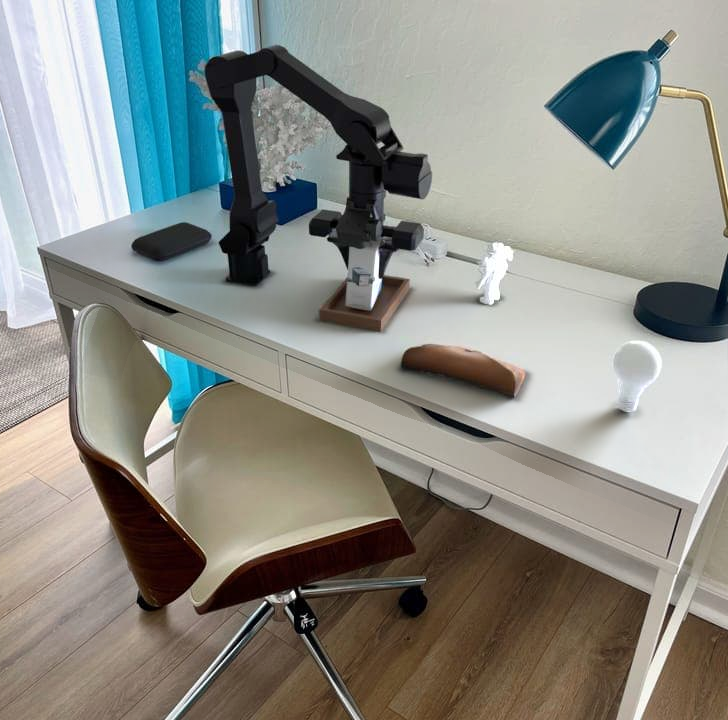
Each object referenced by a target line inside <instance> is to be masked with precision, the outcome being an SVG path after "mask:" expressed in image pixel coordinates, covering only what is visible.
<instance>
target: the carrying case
mask: <svg viewBox="0 0 728 720" xmlns="http://www.w3.org/2000/svg"><path fill="white" fill-rule="evenodd" d="M212 237H213V234H212V233H211V232H210V231H208V230H207V229H205V228H204V227H203V228H202V227H200V226H197V225H194V224H192V223H189V222H186V221H182V222H178V223H175V224H172V225H169V226H167V227H164V228H161V229H158V230H156V231H153V232H150V233H147V234H144V235H141V236H139V237H137V238H135V239H134V240H133V242H132V243H131V249H132V250H133V251H134V252H136V254H137V255H141V256H144V257H145V258H148V259H150V260H153V261H154V262H164V261H167V260H170V259H173V258H175V257H178V256H180V255H183V254H185V253H188V252H190V251H194V250H195V249H198V248H200V247H202V246H205V245H208V244H209V242H210V241H211V240H212Z"/></svg>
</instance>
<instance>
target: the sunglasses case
mask: <svg viewBox="0 0 728 720" xmlns="http://www.w3.org/2000/svg"><path fill="white" fill-rule="evenodd" d="M400 368H401V369H405V370H411V371H415V372H421V373H426V374H430V375H434V376H435V375H436V376H443V377H444V378H448V379H452V380H455V381H460V382H463V383H469V384H471V385H474V386H478V387H482V388H485V389H489V390H492V391H496V392H500V393H504V394H507V395H512V397H514V398H516V397H517V395H518V394H519V392H520V390H521V388H522V385H523V383H524V381H525V380H526V377H527V372H526V371H525V370H523V369H521V368H520V367H519V366H516V365H514V364H511V363H509V362H506V361H503V360H502V359H498V358H495V357H491V356H490V355H488V354H486V353H483V352H482V351H479V350H475V349H472V348H468V347H463V346H457V345H455V346H454V345H446V344H445V345H444V344H436V343H425V344H422V345H420V346H412V347H409V348H407V349H406V350H405V351H404V353H403V354H402V358H401V360H400Z"/></svg>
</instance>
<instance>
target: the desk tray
mask: <svg viewBox="0 0 728 720" xmlns="http://www.w3.org/2000/svg"><path fill="white" fill-rule="evenodd" d="M347 278H348V276H347V277H346V278H345V279H344V280H343V282H341V284H340V285H339V286H338V287H337V288H336V289H335V290H334V292H333V293H331V295H330V296H329V298H328V299H327V300H326V301H325V302H324V303H323V305H322V306H321V307H320V308H319V309H318V313H319V321H321V322H327V323H333V324H338V325H342V326H343V325H344V326H348V327H353V328H359V329H366V330H371V331H375V332H382V331H383V329H384V328H385V326H386V325H387V324H388V322H389V320H390V319H391V317H392V316H393V315H394V313H395V312H396V311H397V308H398V307H399V306H400V304H401V302H402V301H403V299H404V298H405V297H406V295H407V293H409V291H410V282H411V279H410V278H406V277H405V278H404V277H399V276H394V275H393V276H392V275H386V274H384V275H383V277H382V285H381V290H380V293H379V295H378V297H377V299H376V301H375V304H374V306H373V308H372V310H371V311H368V310H362V309H357V308H352V307H347V306H345V305H346V291H347Z"/></svg>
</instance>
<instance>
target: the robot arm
mask: <svg viewBox="0 0 728 720" xmlns="http://www.w3.org/2000/svg"><path fill="white" fill-rule="evenodd" d="M203 71H204V79H205V82H206V85H207V86H206V87H207V89H208V92H209V96H210V98H211V100H212V101H213V102H214V103H215V105H216V106H217V108H218V110H219V111H220V113H221V116H222V122H223V124H222V125H223V130H224V136H225V143H226V149H227V155H228V156H227V157H228V163H229V168H230V175H231V180H232V181H231V183H232V187H233V196H234V197H233V200H232V203H231V206H230V211H229V231H228V232H227V233H226V234H225V235H224V236H223V237H222V238H221V239H220V240H219V241H218V245H219V248H220V250H221V252H222V253H223V254H225V255H227V263H228V273H229V274H228V275H227V276H225V282H229V283H235V284H241V285H246V286H251V287H257V286H258V285H259V284H260V283H262V282H263V281H264V280H265V279H266V278H267V277H268V276H269V275H270V274H271V273H272V272H271V269H270V268H269V258H268V257H269V256H268V254H267V253H266V246H265V245H263V244H265V243H267V242H269V240H270V236H271V235H272V234H273V233H274V232H275V230H276V228H277V223H278V222H279V221H280V219H279V217H278V215H277V203H276V200H274V199H273V200H269V199H268V198H267V196H266V195H265V193H264V191H263V187H262V180H261V173H260V172H261V171H260V165H259V159H258V150H257V143H256V136H255V128H254V121H253V114H252V113H253V112H252V108H253V104H254V101H255V97H256V93H257V90H258V89H257V87H258V86H257V84H258V83H257V82H258V78H260V77H264V76H267V77H269V78H270V79H272V80H273V81H275V82H276V83H278V84H279V85H280V86H282V87H283V88H285V89H286V90H287V91H289V92H290V93H291V94H293V95H294V96H295V97H297V98H298V99H300V101H302V102H304V103H305V104H307V106H309V107H310V108H312V109H314V111H316V112H318V113H319V114H320V115H322V116H323V117H324V118H325V119H326V120H327V121H329V123H330V125H331V127H332V128H333V131H334V132H335V134H336V135H337V136H338V137H339V138H340V139H341V140H342V141H343V142H344V143H345V144H346V145H344V147H343V149H342V150H341V151H340V152H339V153H338V154H336V155H335V158H336V160H340V161H346V162H348V196H347V198H346V201H345V208H344V211H343V214H342V212H341V211H338V210H330V209H323V208H322V209H321V210H320V211H319V212H317V214H316V215H314V216H313V217H312V218H311V219H310V220H309V222H308V234H309V235H310V236H312V237H319V238H326V237H327V238H326V241H327V242H328V243H332V244H333V245H334V246H335V247H337V249H338V251H339V253H340V255H341V257H342V261H343V263H344V265H345V267H346V270H347V271H348V263H349V247H355V248H356V249H363V248H365V247H366V246H367V244H368V242H371V241H378V240H379V238H380V237H384V243H383V244H382V245H381V246H380V248H379V250H380V253H381V254H380V263H379V279H382V277H383V275H385V273H386V270H387V269H388V265H389V263H390V262H391V261H390V260H391V258H392V256H393V254H394V253H397V252H398V251H399V250H404V251H416V249H417V248H418V247H419V245H420V244H421V243H422V242H423V240H424V236H425V235H424V234H425V229H424V227H423V225H422V224H421V223H420V222H414V221H407V220H400V222H399V223H398V224H397V225H396V226H394V225H392V226H391V225H384V222H385V221H386V213H385V211H384V210H385V207H384V206H385V198H386V197H387V193H388V194H390V195H394V196H401V197H406V198H412V199H418V200H425V199H426V198H427V196H428V195H429V192H430V190H431V187H432V181H433V171H432V167H431V163H429V162H428V161H429V155H428V154H427V153H419V152H418V153H412V152H406V151H403V150H404V146H403V144H402V142H401V141H400V139H399V137H398V136H397V134H396V132H395V131H394V129H393V127H392V125H391V121H390V116H389V114H388V112H387V111H386V110H385V109H383V108H382V107H381V106H378V105H377V104H375V103H373V102H370V101H369V100H366V99H364V98H361V97H358V96H353V95H350V94H348V93H346V92H344V91H343V90H341V89H339V88H338V87H337V86H336V85H334V84H333V83H332V82H330V81H328V80H327V79H325V77H323V76H321V75H320V74H319V73H317V72H316V71H315V70H313V69H312V68H310V67H309V66H308V65H307V64H305V63H304V62H302V61H301V60H300V59H298V58H296V57H295V56H294V55H293V54H291V53H290V52H289V50H288V49H287V48H286V47H285V46H282V45H280V44H274V45H270V46H266V47H263V48H260V49H259V50H258V51H256V52H252V53H247V52H245V51H243V50H238V49H237V50H233V51H230V52H225V53H223V54H219V55H215V56H212V57H211V58H209V59H208V61H207V63H206V64H205V65H204V69H203ZM380 143H382V144H383V145H382V146H381V147H380V148H379V146H378V145H379V144H380ZM384 213H385V214H384Z"/></svg>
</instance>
